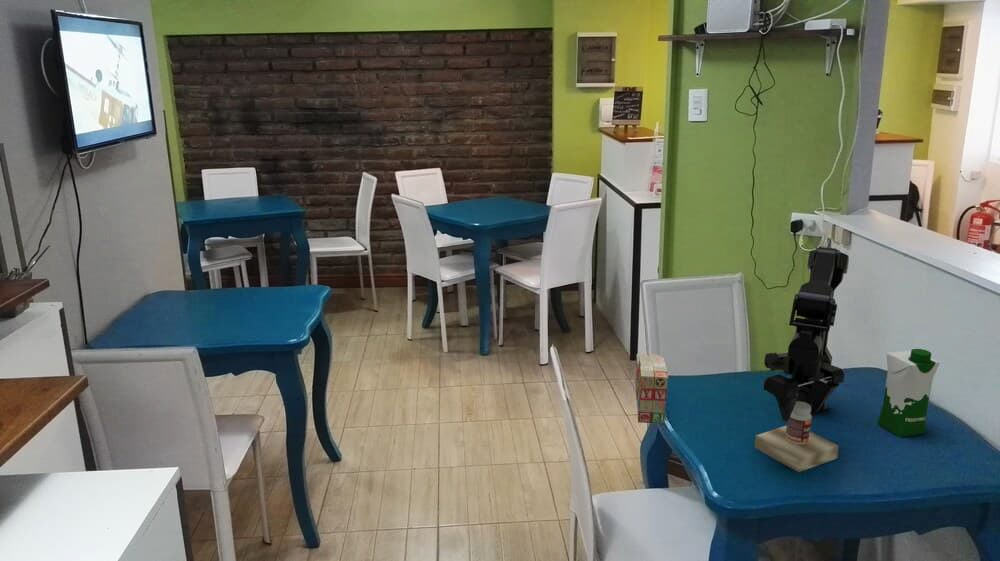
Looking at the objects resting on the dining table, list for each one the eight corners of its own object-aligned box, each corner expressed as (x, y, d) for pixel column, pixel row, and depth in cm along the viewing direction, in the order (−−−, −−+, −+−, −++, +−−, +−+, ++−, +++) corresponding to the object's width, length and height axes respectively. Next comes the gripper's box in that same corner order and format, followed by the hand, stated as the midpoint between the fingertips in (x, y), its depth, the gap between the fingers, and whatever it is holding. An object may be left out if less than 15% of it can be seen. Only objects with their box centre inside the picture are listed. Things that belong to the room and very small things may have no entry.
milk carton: (898, 439, 170) (912, 357, 164) (870, 421, 178) (883, 343, 173) (931, 435, 172) (946, 354, 166) (902, 418, 180) (915, 340, 175)
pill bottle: (806, 447, 160) (810, 411, 158) (783, 441, 163) (787, 406, 160) (810, 438, 164) (815, 403, 162) (787, 433, 167) (791, 398, 164)
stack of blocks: (634, 386, 198) (637, 342, 195) (658, 387, 197) (661, 343, 194) (638, 423, 178) (640, 375, 174) (665, 424, 177) (668, 376, 174)
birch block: (791, 435, 172) (793, 423, 171) (837, 458, 162) (838, 445, 161) (754, 447, 166) (755, 435, 166) (798, 472, 156) (800, 459, 155)
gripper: (806, 329, 168) (798, 393, 173) (746, 344, 160) (740, 411, 164) (850, 345, 159) (840, 412, 163) (789, 361, 150) (781, 432, 155)
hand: (799, 416), depth 162 cm, fingers open, 9 cm apart
